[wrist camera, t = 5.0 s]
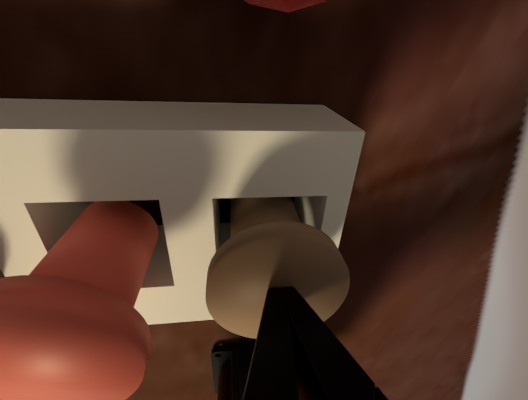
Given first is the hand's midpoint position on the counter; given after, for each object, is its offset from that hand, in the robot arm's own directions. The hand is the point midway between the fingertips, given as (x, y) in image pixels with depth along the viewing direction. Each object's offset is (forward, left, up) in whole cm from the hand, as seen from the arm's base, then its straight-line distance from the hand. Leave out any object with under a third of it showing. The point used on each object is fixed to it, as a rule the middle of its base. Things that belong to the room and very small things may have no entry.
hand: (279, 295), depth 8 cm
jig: (0, +6, -7) cm, 9 cm away
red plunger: (0, +6, -4) cm, 7 cm away
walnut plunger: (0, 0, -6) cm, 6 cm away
